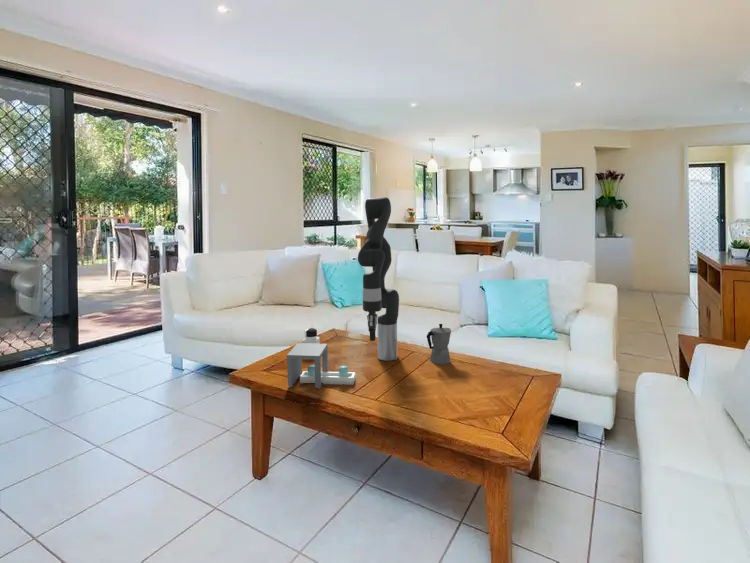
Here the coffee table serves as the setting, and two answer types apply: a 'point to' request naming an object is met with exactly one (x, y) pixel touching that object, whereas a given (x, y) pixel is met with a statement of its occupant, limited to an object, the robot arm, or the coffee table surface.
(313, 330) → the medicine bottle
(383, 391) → the coffee table surface
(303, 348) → the grey stand
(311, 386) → the coffee table surface
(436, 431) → the coffee table surface
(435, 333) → the coffeepot
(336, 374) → the tray
